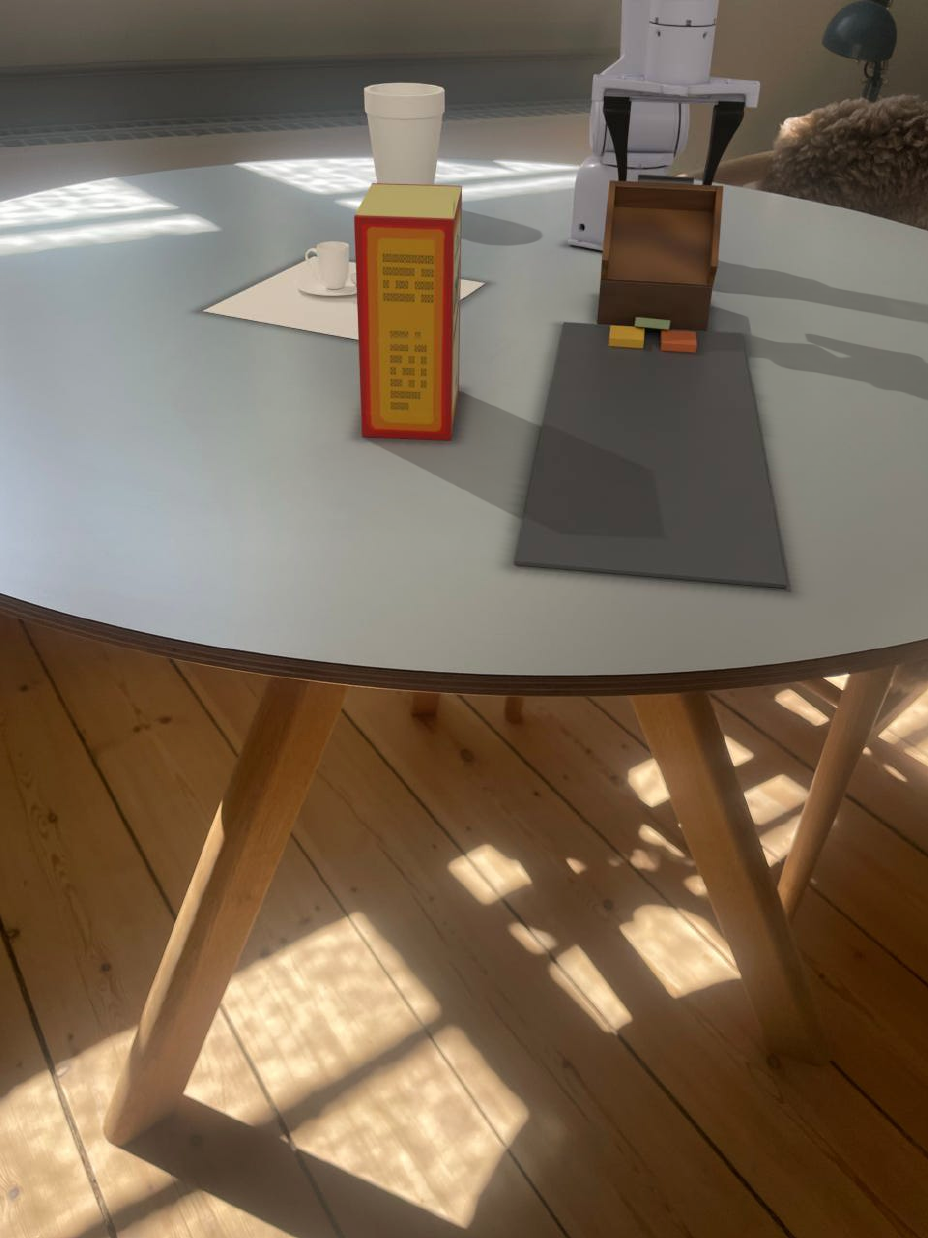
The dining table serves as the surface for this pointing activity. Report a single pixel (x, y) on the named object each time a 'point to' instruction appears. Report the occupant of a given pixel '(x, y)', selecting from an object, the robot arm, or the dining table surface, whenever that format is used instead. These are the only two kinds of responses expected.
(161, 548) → the dining table surface
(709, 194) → the tray
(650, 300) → the brown wooden box panel
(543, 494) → the mat
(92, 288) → the dining table surface
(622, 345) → the packet
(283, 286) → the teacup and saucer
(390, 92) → the foam cup
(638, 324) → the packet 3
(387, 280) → the baking soda box
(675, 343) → the packet
